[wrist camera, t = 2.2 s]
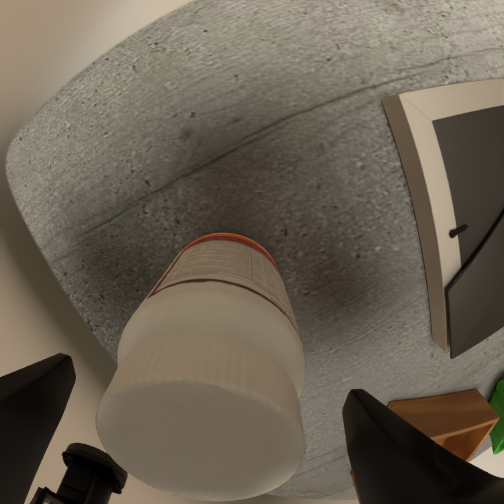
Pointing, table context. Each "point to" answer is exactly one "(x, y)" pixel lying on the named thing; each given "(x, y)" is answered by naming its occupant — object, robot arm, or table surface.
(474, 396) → the oak box
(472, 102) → the picture frame
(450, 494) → the robot arm
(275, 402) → the pill bottle
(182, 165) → the table surface
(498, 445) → the fruit basket
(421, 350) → the table surface
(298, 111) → the table surface
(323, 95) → the table surface
